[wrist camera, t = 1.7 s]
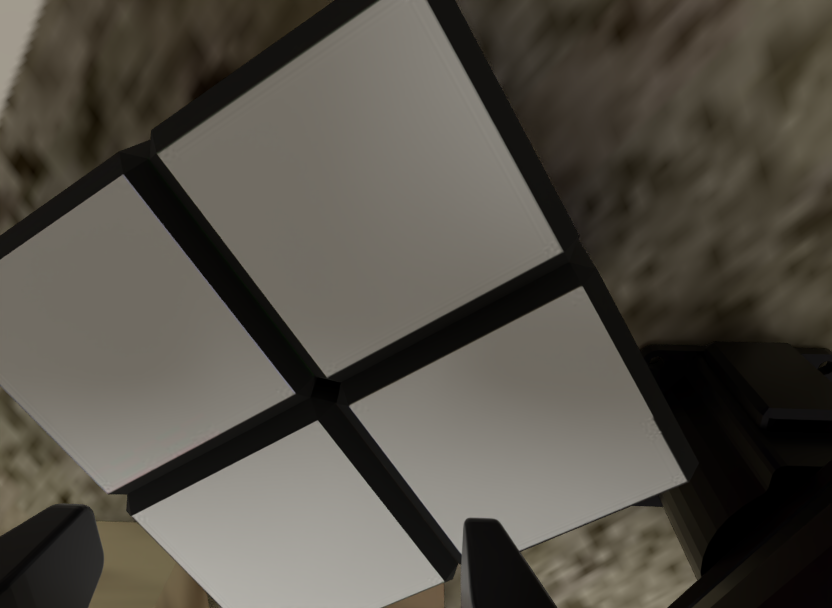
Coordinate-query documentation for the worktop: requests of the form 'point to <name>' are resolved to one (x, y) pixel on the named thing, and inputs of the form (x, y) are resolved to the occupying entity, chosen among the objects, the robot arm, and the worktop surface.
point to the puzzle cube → (334, 324)
